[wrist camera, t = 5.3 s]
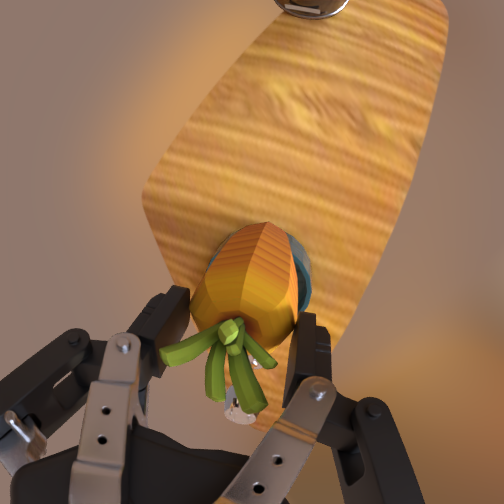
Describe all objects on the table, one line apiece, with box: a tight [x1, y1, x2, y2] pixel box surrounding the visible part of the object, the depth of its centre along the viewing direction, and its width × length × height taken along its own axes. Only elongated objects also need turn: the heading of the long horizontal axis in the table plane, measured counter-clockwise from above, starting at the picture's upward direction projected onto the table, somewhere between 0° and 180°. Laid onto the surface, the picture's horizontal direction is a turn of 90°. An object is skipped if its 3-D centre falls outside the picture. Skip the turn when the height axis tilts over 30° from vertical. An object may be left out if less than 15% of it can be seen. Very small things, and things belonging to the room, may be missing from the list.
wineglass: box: [224, 355, 263, 424], centre depth 43 cm, size 6×6×12 cm
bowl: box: [206, 229, 312, 316], centre depth 38 cm, size 13×13×5 cm
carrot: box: [159, 222, 298, 414], centre depth 15 cm, size 5×5×15 cm
